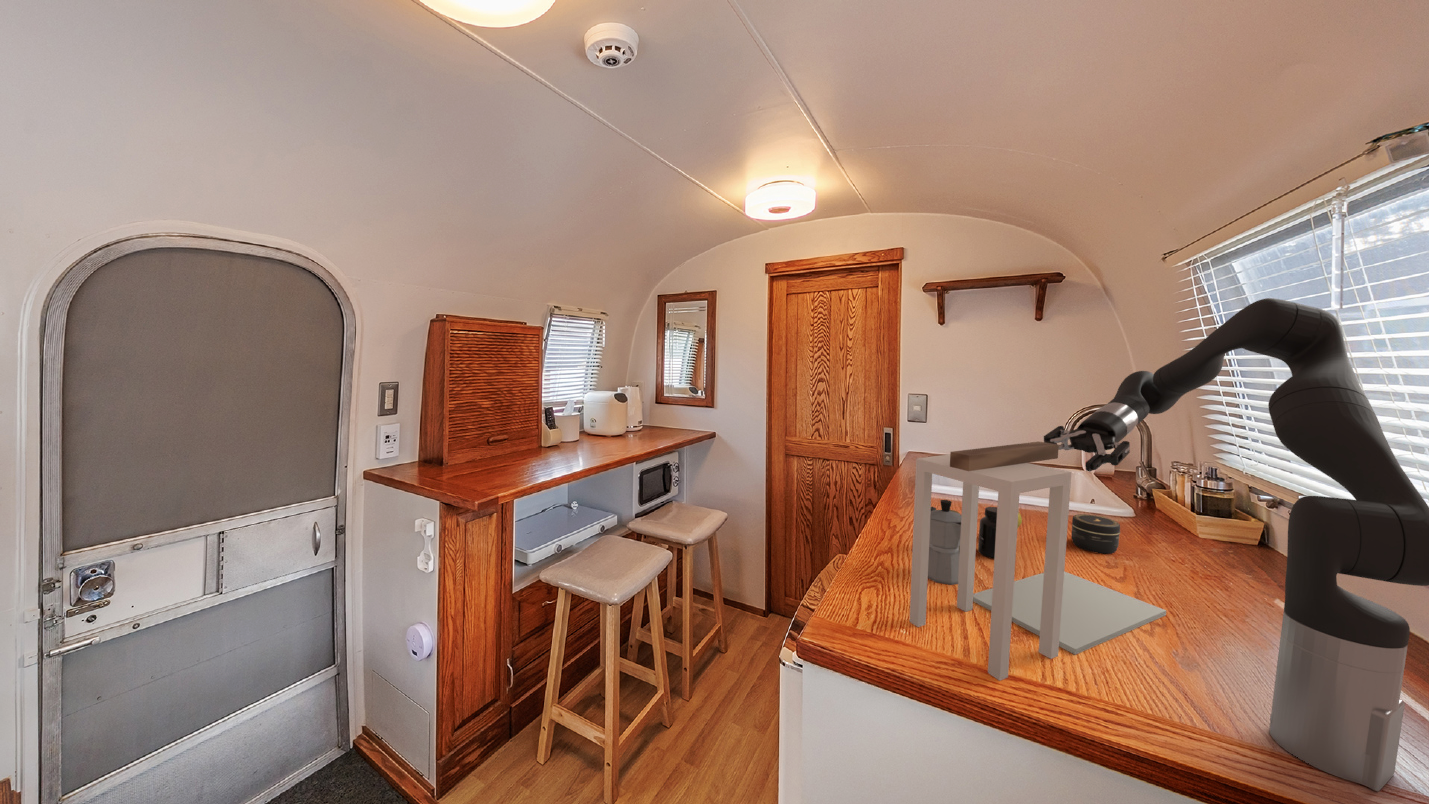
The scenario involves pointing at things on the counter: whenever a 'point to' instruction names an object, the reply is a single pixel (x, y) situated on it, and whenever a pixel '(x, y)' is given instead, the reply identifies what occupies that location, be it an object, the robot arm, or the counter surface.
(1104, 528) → the jar
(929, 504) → the grey table
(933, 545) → the coffee maker
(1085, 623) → the grey-green mat
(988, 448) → the walnut bar
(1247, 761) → the counter surface
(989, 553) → the supplement bottle
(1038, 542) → the counter surface
